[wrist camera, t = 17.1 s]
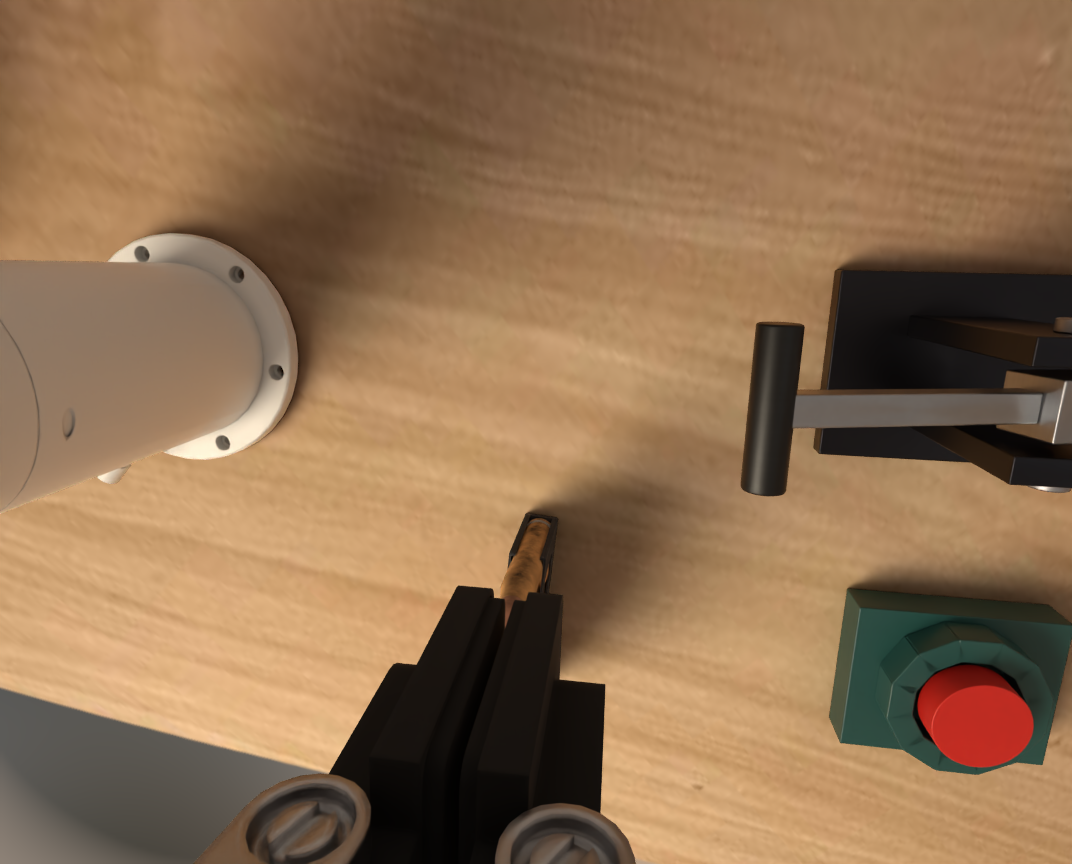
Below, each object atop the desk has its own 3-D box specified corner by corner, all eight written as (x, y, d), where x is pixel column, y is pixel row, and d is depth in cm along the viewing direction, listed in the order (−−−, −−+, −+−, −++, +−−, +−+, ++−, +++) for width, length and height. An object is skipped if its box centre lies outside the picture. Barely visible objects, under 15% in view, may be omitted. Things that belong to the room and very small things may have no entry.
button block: (828, 717, 39) (849, 767, 35) (846, 587, 37) (871, 625, 33) (1019, 737, 37) (1064, 791, 33) (1049, 604, 35) (1099, 645, 31)
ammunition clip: (537, 683, 41) (498, 847, 29) (507, 678, 41) (456, 838, 29) (558, 517, 38) (524, 624, 27) (525, 512, 38) (478, 616, 27)
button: (910, 737, 34) (924, 761, 33) (924, 659, 33) (939, 680, 32) (1005, 747, 34) (1024, 773, 32) (1021, 668, 33) (1042, 690, 31)
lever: (727, 479, 24) (759, 502, 21) (741, 320, 22) (778, 326, 20) (1051, 469, 26) (1113, 489, 24) (1082, 323, 25) (1150, 329, 22)
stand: (812, 448, 35) (896, 533, 24) (834, 269, 33) (938, 269, 22) (1043, 461, 34) (1250, 557, 22) (1082, 275, 32) (1332, 278, 20)
